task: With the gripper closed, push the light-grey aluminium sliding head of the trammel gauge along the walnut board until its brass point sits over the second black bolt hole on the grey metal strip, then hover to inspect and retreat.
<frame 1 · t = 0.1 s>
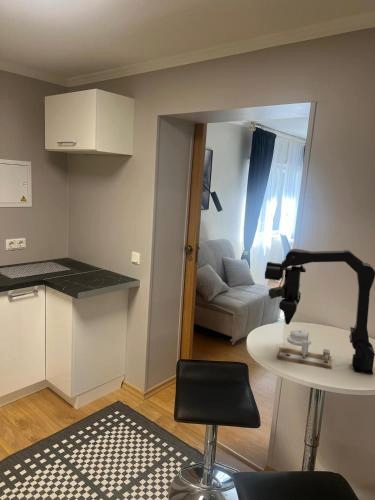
hand: (288, 320, 146), 15 cm above the table, fingers open, 9 cm apart
mechanical component: (298, 341, 163), on the table
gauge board: (303, 358, 145), on the table
sliding head: (304, 349, 145), point 4 cm above the table, slide at 0.0 cm
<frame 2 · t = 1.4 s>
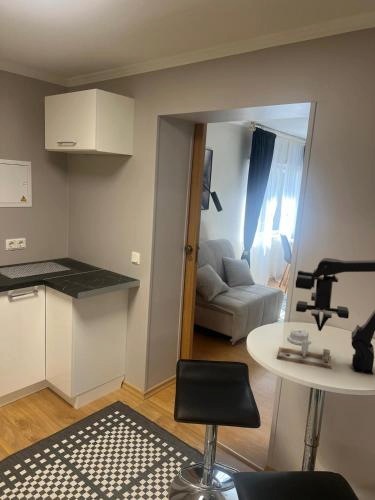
hand: (319, 330, 143), 12 cm above the table, fingers closed
nothing on the table moved.
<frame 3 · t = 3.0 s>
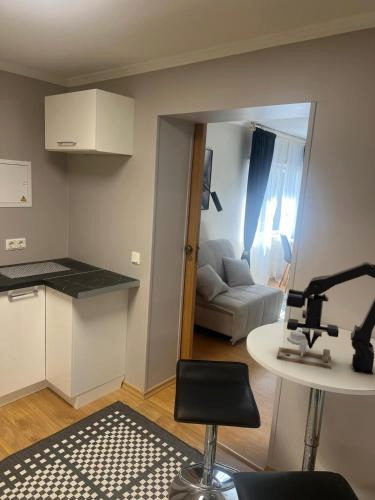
hand: (310, 348, 146), 4 cm above the table, fingers closed
sliding head: (302, 348, 145), point 4 cm above the table, slide at 0.9 cm, touching gripper
everything else where it was.
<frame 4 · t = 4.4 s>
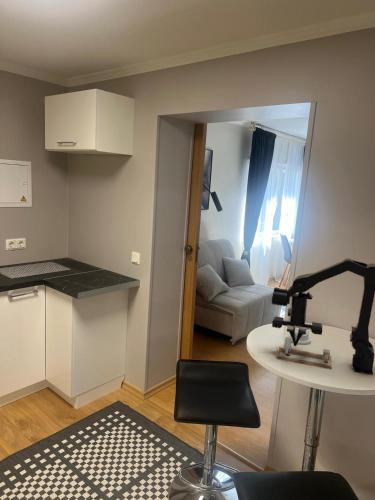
hand: (295, 345, 148), 4 cm above the table, fingers closed
sliding head: (287, 346, 147), point 4 cm above the table, slide at 6.6 cm, touching gripper
everything else where it was.
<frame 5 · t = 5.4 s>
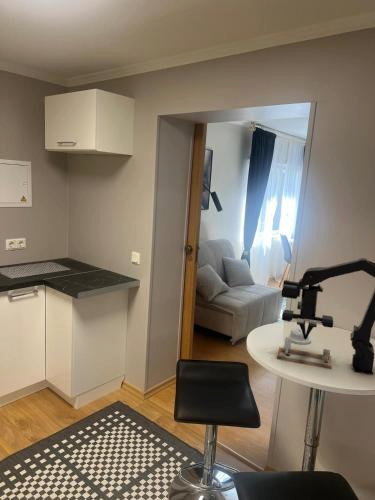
hand: (305, 339, 146), 8 cm above the table, fingers closed
sliding head: (287, 346, 147), point 4 cm above the table, slide at 6.6 cm
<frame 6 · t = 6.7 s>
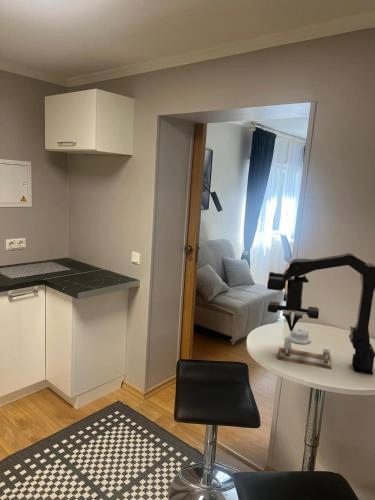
hand: (291, 330, 145), 11 cm above the table, fingers closed
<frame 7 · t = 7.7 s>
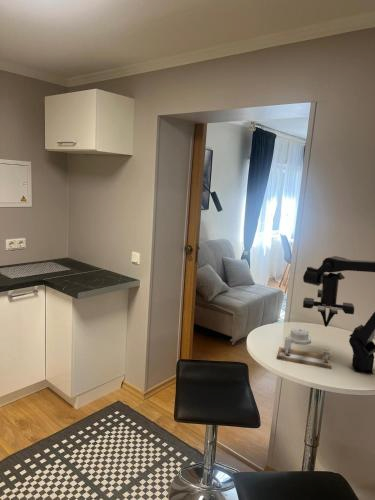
hand: (325, 326, 148), 12 cm above the table, fingers closed
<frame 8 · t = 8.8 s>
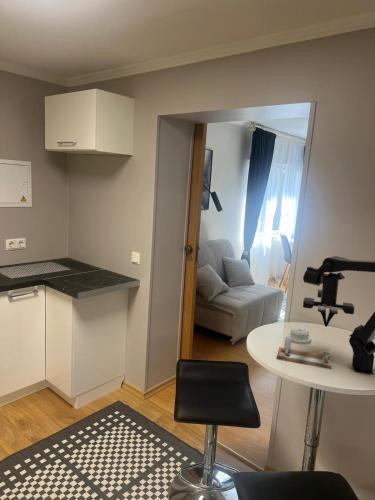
hand: (325, 326, 148), 12 cm above the table, fingers closed
at the end: sliding head slide at 6.6 cm; sliding head moved 6.6 cm from its start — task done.
